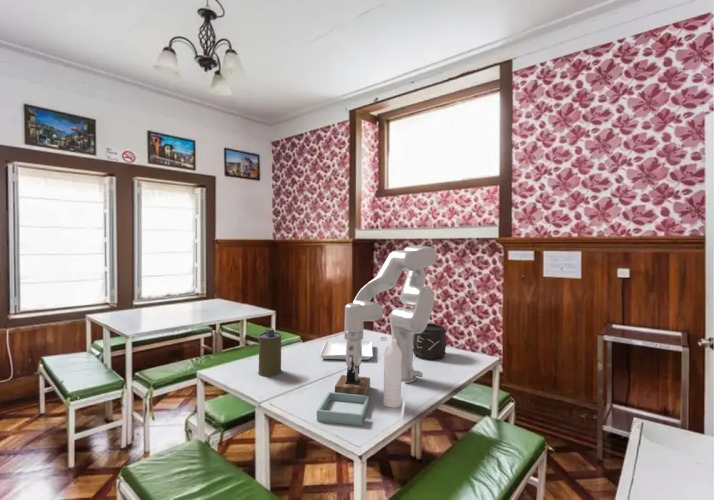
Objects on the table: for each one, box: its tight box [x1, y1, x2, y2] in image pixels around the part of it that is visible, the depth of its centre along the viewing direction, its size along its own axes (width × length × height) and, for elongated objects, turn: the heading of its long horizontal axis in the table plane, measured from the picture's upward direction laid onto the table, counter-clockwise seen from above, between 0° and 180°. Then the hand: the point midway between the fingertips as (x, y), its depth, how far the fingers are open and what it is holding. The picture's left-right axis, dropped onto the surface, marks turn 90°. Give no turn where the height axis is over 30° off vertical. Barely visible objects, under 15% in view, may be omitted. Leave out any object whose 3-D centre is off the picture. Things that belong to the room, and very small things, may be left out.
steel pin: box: [345, 362, 361, 385], centre depth 147 cm, size 6×6×12 cm
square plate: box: [318, 339, 374, 361], centre depth 200 cm, size 27×27×4 cm
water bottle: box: [379, 336, 402, 409], centre depth 138 cm, size 9×6×25 cm
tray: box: [316, 391, 370, 427], centre depth 132 cm, size 16×16×4 cm
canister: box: [257, 327, 283, 377], centre depth 170 cm, size 11×10×20 cm
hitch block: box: [334, 374, 371, 396], centre depth 147 cm, size 12×12×5 cm
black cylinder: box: [412, 322, 447, 361], centre depth 198 cm, size 18×18×16 cm
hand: (353, 377), depth 147 cm, fingers open, 8 cm apart
